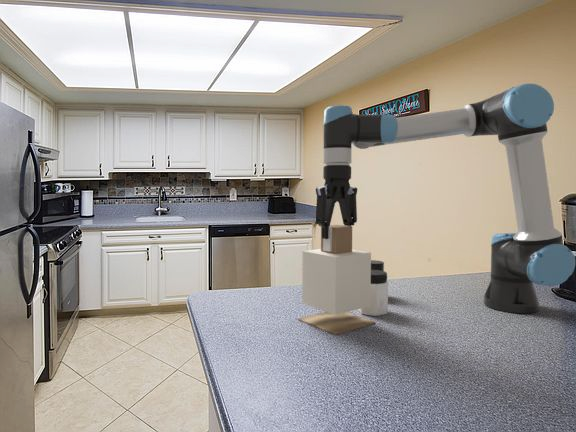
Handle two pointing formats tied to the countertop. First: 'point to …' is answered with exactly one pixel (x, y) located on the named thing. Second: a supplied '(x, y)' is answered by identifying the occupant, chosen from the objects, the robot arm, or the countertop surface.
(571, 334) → the countertop surface
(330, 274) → the cover
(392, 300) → the countertop surface
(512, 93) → the robot arm
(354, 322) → the plate
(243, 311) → the countertop surface
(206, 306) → the countertop surface
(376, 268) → the ink bottle
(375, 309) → the jar
